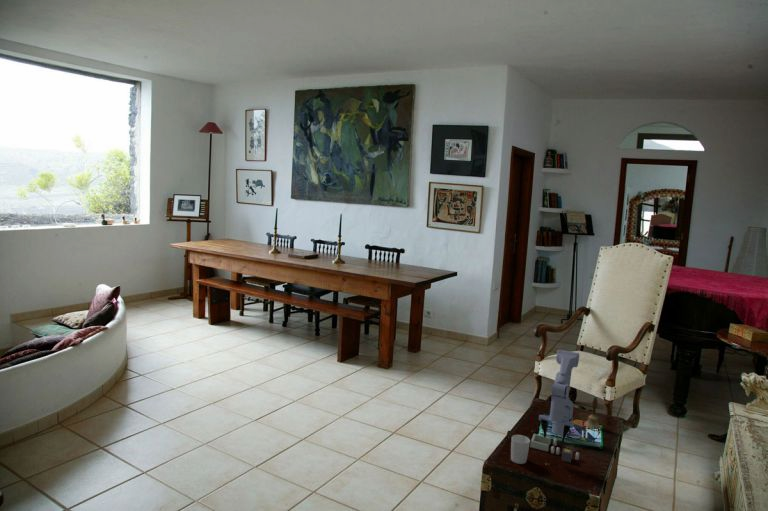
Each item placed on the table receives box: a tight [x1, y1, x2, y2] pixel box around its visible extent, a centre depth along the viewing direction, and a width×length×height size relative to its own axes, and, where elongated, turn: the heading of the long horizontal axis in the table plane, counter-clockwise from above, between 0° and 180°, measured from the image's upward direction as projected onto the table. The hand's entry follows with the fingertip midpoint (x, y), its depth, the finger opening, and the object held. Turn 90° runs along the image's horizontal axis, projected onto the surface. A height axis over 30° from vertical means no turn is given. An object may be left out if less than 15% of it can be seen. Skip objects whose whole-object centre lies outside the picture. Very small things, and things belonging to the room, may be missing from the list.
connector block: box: [560, 448, 573, 463], centre depth 235 cm, size 4×4×4 cm
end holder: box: [529, 433, 552, 452], centre depth 247 cm, size 8×8×3 cm
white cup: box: [510, 434, 531, 465], centre depth 232 cm, size 8×8×10 cm
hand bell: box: [583, 397, 601, 430], centre depth 269 cm, size 8×8×16 cm
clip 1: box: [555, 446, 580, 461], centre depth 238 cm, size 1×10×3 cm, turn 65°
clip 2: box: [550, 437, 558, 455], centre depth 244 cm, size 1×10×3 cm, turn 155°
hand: (553, 438), depth 233 cm, fingers open, 7 cm apart
